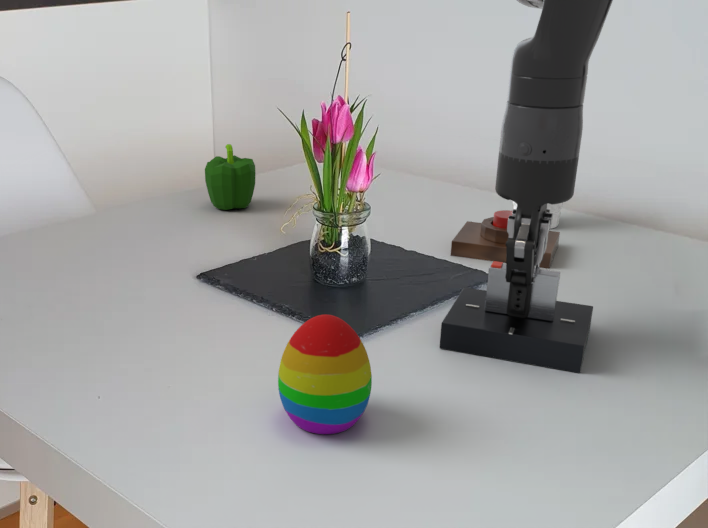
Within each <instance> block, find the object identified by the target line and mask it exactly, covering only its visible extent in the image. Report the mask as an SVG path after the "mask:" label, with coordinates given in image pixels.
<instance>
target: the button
mask: <svg viewBox="0 0 708 528" xmlns="http://www.w3.org/2000/svg"><path fill="white" fill-rule="evenodd" d="M512 212H513V210H508V209H507V210H506V209H505V210H502V209H501V210H497V211H494V213H493V217H494V218H493V226H496V227H499V228H505V229H507V224H508V218H509V215H511V216H512Z"/></svg>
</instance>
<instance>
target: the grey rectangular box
mask: <svg viewBox="0 0 708 528" xmlns="http://www.w3.org/2000/svg"><path fill="white" fill-rule="evenodd" d="M516 271H517V272H524V273H526V271H524V270H517V269H516ZM505 275H506V263H503V262H497V261H492V262H491V263H490V265H489V267H488V273H487V281H486V300H485V311H489V312H495V313H502V314H507V304H508V295H509V286H510V283H509V282H506V278H505ZM535 278H536V280H535V282H534V284H533V287H532V295H531V303H530V311H529V315H528V317H527V318H534V319H540V320H547V321H553V319H554V316H555V309H556V302H557V301H558V294H559V286H560V278H561V271H559V270H558V271H557V270H550V269H543V268H540V269H536V271H535Z"/></svg>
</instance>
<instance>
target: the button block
mask: <svg viewBox="0 0 708 528" xmlns="http://www.w3.org/2000/svg"><path fill="white" fill-rule="evenodd" d="M493 218H494V216H492V217H488V218H484V219H483V220H482V222H477V221H469V220H467V221H466V222H465V223H464V225H463V226H462V227H461V228H460V229H459V230H458V232H457V234H456V235H455V236H454V238H453V239H452V240H451V245H450V256H451V257H457V258H465V259H472V260H480V261H487V262H493V261H497V262H503V264H506V248H507V246H506V241H508V237H509V234H508V232H507V229H505V228H499V227H496V226H493ZM560 235H561V232H560V231H554V230H549V232H548V240H547V248H546V251H545V253H544V255H543V261H541V264H539V267H540V269H546V270H550V267H551V265H552V263H553V261H554V257H555V255H556V253H557V251H558V248H559V242H560Z"/></svg>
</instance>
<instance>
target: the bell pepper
mask: <svg viewBox="0 0 708 528" xmlns="http://www.w3.org/2000/svg"><path fill="white" fill-rule="evenodd" d="M225 149H226V158H224V157H223V156H218V155H216V156H214V157H213V158H212V159H210V161H207V162H206V165H205V167H204V180H205V185H206V190H207V193H208V196H209V197H208V198H209V199H210V203H211V204H212V206H213V207H214V208H216V209H218V210H224V211H228V210H232V209H246V208H248V207H249V206H250V205H251V202H252V199H253V195H254V192H255V191H254V190H255V187H256V163H255V162H254V159H253V158H249V157H242V158H241V157H239V156H238V155H234V149H233V145H232V144H230V143H228V144H226V145H225Z"/></svg>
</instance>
